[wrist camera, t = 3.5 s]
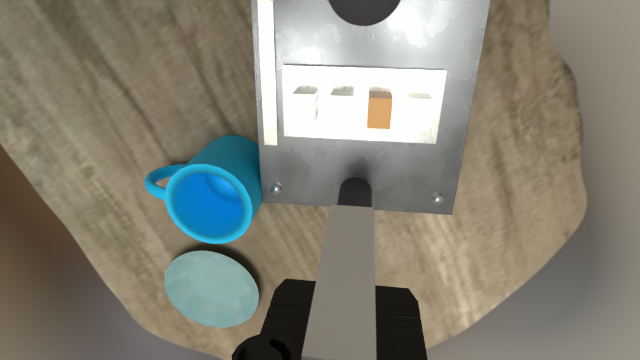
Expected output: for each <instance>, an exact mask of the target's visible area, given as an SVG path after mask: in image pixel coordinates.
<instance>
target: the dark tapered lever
mask: <svg viewBox="0 0 640 360" xmlns="http://www.w3.org/2000/svg"><path fill="white" fill-rule="evenodd" d="M328 1H329V3H330V5H331V7H332V9H333V10H334V12H335V13H336V14H337V15H338V16H339V17H340V18H341V19H343V20H344V21H346V22H348V23H350V24H352V25H357V26H370V25H374V24H377V23H379V22H381V21H383V20H385V19H386V18H387V17H389V16H390V15H391V14H392V13H393V12H394V11H395V9H396V8H397V6H398V5H399V3H400V1H401V0H328Z"/></svg>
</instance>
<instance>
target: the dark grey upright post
mask: <svg viewBox="0 0 640 360" xmlns="http://www.w3.org/2000/svg"><path fill="white" fill-rule="evenodd" d="M337 205H344V206H359V207H372V190H371V187H370V185H369V183H368V182H367V181H365V180H364V179H361V178H357V177H354V178H349V179H347V180H345V181H344V182H343V183H342V185H341V186H340V190H339V196H338V202H337Z"/></svg>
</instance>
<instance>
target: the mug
mask: <svg viewBox="0 0 640 360" xmlns="http://www.w3.org/2000/svg"><path fill="white" fill-rule="evenodd" d="M168 177H171V178H170V180H169V182H168V184H167V187H166V188H163V187H160V186H158V185H156V184H155V183H156V182H158V181H159V180H161V179H164V178H168ZM145 186H146V189H147V191H148V192H149V193H151V194H152V195H153V196H155V197H157V198H160V199H162V200H165V203H166V206H167V210H168V213H169V215H170V216H171V218H172V219H173V221H174V223H175V224H176V225H177V226H178V227H179V228H180V229H181V230H182V231H183V232H184V233H185V234H187V235H189V236H191V237H193V238H195V239H196V240H199V241H203V242H206V243H210V244H224V243H227V242H230V241H233V240H236V239H237V238H238V237H240V236H241V235H242V234H244V233H245V231H246V230H247V228H248V226H249V225H250V223H251V221H252V219H253V218H254V216H255V214H256V212H257V210H258V208H259V207H260V205H261V203H262V196H261V177H260V158H259V145H258V144H256V143H255V142H253V141H251V140H250V139H248V138H245V137H241V136H237V135H228V136H222V137H220V138H217V139H215V140H213V141H212V142H211V143H210V144H208V145H207V146H206V147H205V148H204V149H203V150H201V151H200V152H199V153H198V154H197V155H196V156H194V157H193V158H192V159H191V160H190V161H189V162H188V163H186V164H178V165H170V166H166V167H162V168H158V169H156V170H154V171H152V172H150V173H149V174H148V176H147V177H146V178H145Z"/></svg>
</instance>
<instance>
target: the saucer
mask: <svg viewBox="0 0 640 360" xmlns="http://www.w3.org/2000/svg"><path fill="white" fill-rule="evenodd" d="M165 289H166V292H167V295H168V297H169V299H170V300H171V302H172V304H173V305H174V306H175V307H176V308H177V309H178V310H179V311H180V312H181V313H182V314H184V315H185V316H186V317H188V318H189V319H191V320H193V321H195V322H198V323H200V324H203V325H206V326H212V327H220V328H224V327H231V326H236V325H238V324H241V323H243V322H245V321H246V320H248V319H249V318H250V317H251V316H252V315H253V313H254V312H255V310H256V308H257V305H258V300H259V293H258V288H257V285H256V283H255V281H254V279H253V277H252V276H251V275H250V273H249V272H248V271H247V270H246V269H245V268H244V267H243V266H242V265H241V264H239V263H238V262H236V261H235V260H233V259H232V258H230V257H228V256H225V255H223V254H220V253H216V252H211V251H203V250H202V251H193V252H188V253H185V254H183V255H181V256H179V257H177V258H176V259H175V260H174V261H172V262H171V264H170V265H169V266H168V268H167V270H166V273H165Z"/></svg>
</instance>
